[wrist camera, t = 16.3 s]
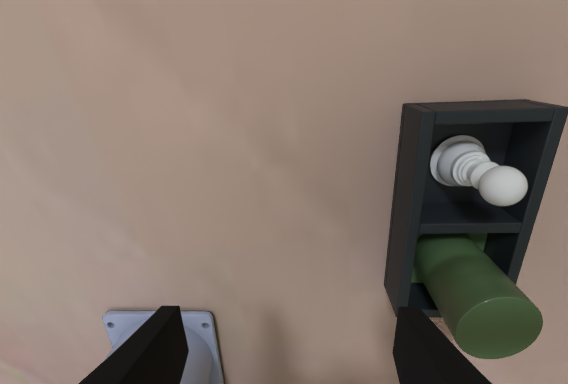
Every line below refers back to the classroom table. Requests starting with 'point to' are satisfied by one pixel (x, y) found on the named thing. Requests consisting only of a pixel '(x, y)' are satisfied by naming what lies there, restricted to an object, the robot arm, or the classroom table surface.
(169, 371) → the robot arm
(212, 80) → the classroom table surface
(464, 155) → the chess pawn
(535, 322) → the sage peg
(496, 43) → the classroom table surface
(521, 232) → the tray
